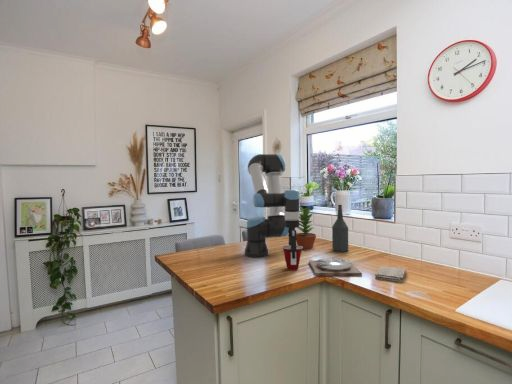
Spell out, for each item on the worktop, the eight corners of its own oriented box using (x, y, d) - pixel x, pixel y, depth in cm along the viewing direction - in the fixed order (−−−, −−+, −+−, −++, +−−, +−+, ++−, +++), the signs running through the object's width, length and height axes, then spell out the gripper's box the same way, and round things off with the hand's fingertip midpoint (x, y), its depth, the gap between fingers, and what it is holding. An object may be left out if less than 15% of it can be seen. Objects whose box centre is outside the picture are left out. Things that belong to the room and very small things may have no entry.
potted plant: (290, 246, 203) (290, 203, 202) (309, 244, 208) (309, 203, 207) (299, 250, 189) (299, 205, 188) (320, 248, 194) (320, 204, 193)
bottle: (349, 249, 191) (349, 204, 190) (346, 252, 183) (346, 205, 182) (334, 247, 197) (334, 203, 196) (330, 250, 188) (330, 205, 187)
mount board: (315, 276, 139) (315, 269, 139) (308, 263, 161) (308, 256, 161) (361, 276, 138) (361, 268, 138) (348, 263, 160) (348, 256, 160)
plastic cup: (302, 265, 156) (302, 243, 155) (303, 272, 145) (303, 248, 145) (282, 265, 157) (282, 243, 156) (282, 271, 146) (281, 248, 146)
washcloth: (374, 280, 134) (374, 273, 134) (379, 269, 149) (379, 263, 149) (403, 284, 128) (403, 277, 127) (405, 273, 143) (405, 266, 143)
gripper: (302, 222, 139) (302, 268, 139) (296, 216, 161) (297, 255, 162) (286, 222, 139) (286, 268, 140) (283, 216, 162) (284, 255, 162)
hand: (292, 261), depth 151 cm, fingers closed on plastic cup, 10 cm apart
